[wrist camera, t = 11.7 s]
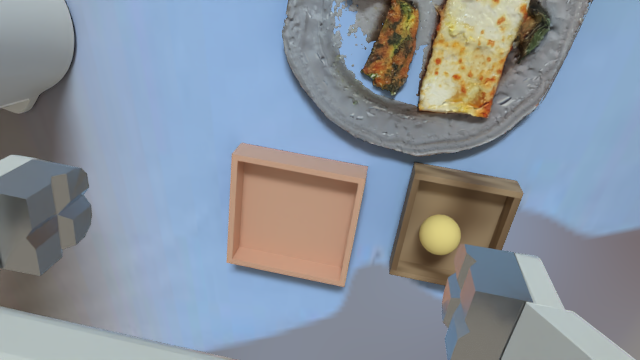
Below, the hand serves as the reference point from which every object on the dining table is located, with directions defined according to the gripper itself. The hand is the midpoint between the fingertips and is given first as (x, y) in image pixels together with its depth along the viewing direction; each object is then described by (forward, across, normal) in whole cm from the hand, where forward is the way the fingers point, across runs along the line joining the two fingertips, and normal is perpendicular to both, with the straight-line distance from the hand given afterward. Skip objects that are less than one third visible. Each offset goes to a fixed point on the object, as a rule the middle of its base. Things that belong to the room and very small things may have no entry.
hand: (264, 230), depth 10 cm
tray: (+34, -12, +18) cm, 40 cm away
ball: (+32, -11, +18) cm, 38 cm away
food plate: (+35, -5, -2) cm, 35 cm away
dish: (+34, +4, +20) cm, 40 cm away
